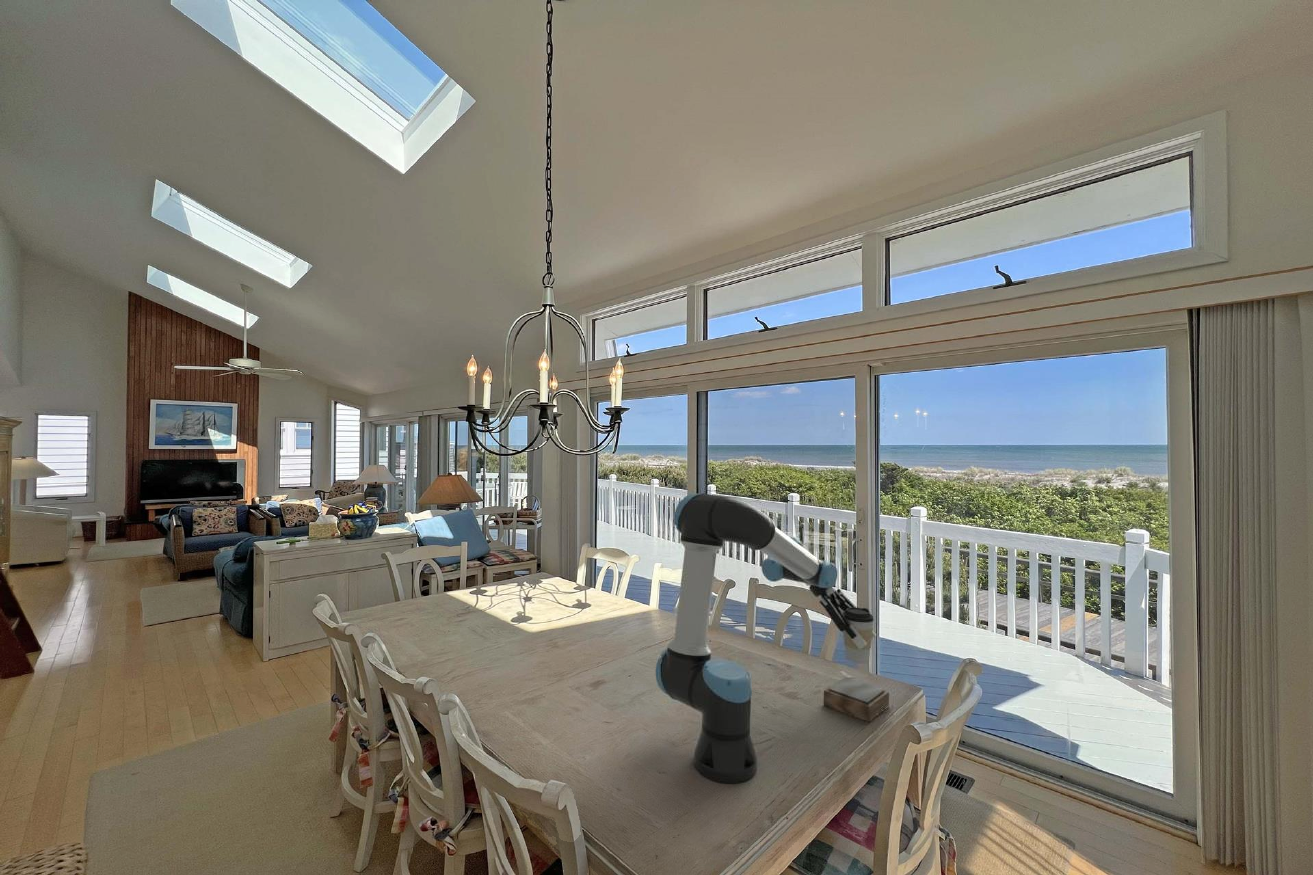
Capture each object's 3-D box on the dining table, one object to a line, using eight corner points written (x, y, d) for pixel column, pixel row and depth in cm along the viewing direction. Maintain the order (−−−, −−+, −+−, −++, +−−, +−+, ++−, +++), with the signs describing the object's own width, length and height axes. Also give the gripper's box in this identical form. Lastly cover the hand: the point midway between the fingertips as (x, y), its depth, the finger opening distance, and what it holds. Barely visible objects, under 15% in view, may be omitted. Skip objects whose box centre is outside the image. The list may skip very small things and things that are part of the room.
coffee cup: (853, 666, 157) (854, 614, 157) (835, 654, 165) (836, 605, 166) (879, 663, 159) (880, 612, 159) (860, 652, 168) (861, 604, 168)
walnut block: (888, 706, 162) (889, 689, 162) (869, 722, 152) (869, 704, 152) (844, 690, 171) (844, 675, 172) (823, 704, 162) (823, 688, 162)
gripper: (820, 580, 180) (869, 639, 170) (795, 593, 163) (848, 659, 153) (836, 567, 177) (886, 626, 167) (813, 579, 160) (867, 645, 150)
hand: (868, 642), depth 160 cm, fingers closed on coffee cup, 9 cm apart
